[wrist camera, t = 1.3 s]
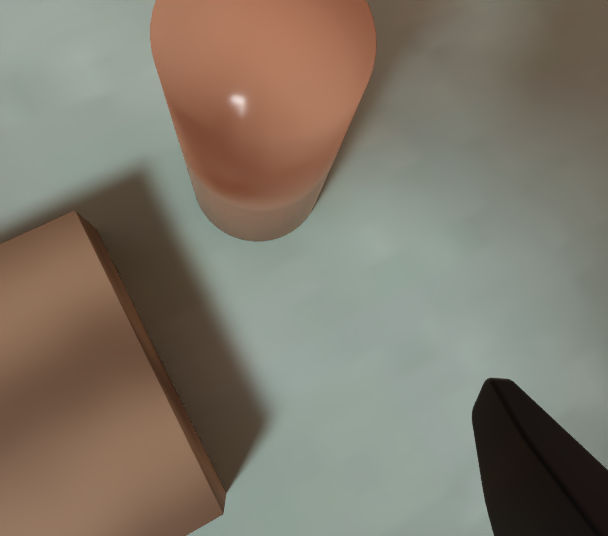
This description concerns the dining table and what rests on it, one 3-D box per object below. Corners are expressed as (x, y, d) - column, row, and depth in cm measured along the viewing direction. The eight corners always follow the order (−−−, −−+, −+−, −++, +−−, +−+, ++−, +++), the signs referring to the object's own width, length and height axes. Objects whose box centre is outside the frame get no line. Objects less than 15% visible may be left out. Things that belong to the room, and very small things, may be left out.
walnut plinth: (226, 493, 22) (223, 514, 19) (-74, 665, 20) (-129, 716, 17) (96, 229, 23) (74, 210, 20) (-200, 366, 21) (-271, 366, 18)
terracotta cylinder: (341, 207, 25) (415, 86, 14) (228, 263, 24) (214, 180, 13) (283, 101, 25) (311, -96, 14) (171, 151, 24) (111, -18, 13)
